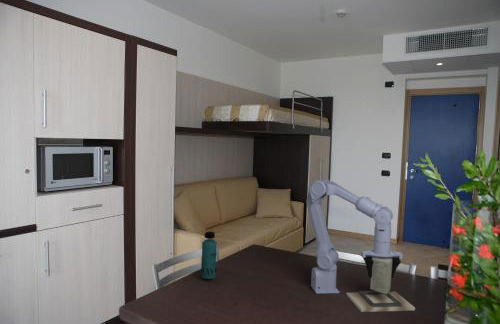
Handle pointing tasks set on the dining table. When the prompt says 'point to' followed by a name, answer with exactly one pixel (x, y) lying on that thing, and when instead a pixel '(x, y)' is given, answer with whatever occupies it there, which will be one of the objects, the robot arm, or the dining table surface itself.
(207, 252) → the beverage bottle
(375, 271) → the skincare box
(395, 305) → the socket board
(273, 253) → the dining table surface
